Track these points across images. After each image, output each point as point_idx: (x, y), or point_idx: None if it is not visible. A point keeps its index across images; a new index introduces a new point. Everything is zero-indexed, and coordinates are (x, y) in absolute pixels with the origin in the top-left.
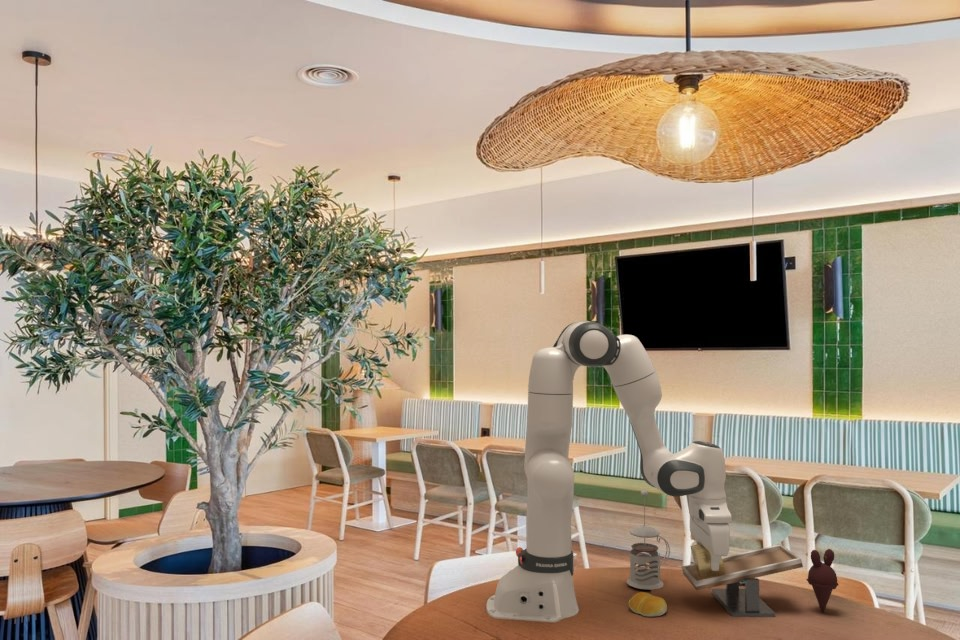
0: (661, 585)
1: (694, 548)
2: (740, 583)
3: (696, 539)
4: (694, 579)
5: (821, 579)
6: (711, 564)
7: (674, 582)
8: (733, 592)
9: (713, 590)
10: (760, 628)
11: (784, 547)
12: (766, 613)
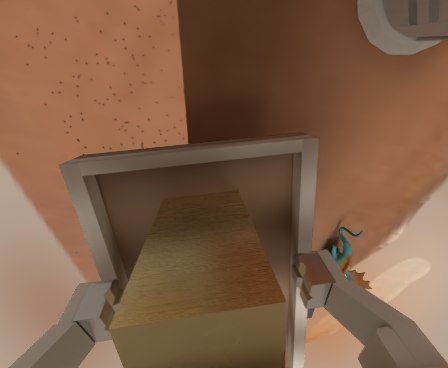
0: (377, 39)
1: (186, 329)
2: (326, 249)
3: (419, 344)
4: (108, 169)
5: None
6: (63, 314)
7: (393, 100)
8: None
9: None
10: (79, 246)
11: None
12: None
